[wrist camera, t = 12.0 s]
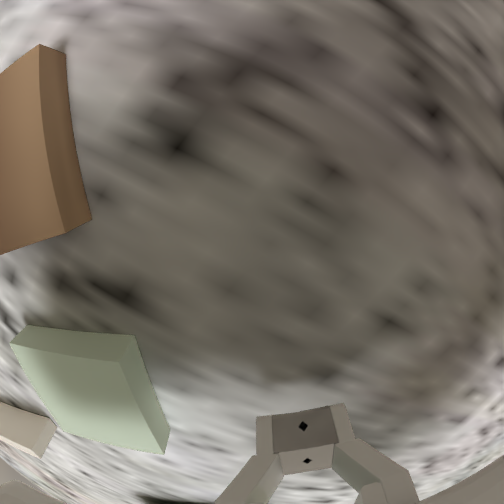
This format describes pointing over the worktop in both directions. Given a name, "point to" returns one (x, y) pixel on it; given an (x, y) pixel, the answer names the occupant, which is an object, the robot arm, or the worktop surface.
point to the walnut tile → (38, 152)
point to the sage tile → (94, 386)
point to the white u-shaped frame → (25, 430)
